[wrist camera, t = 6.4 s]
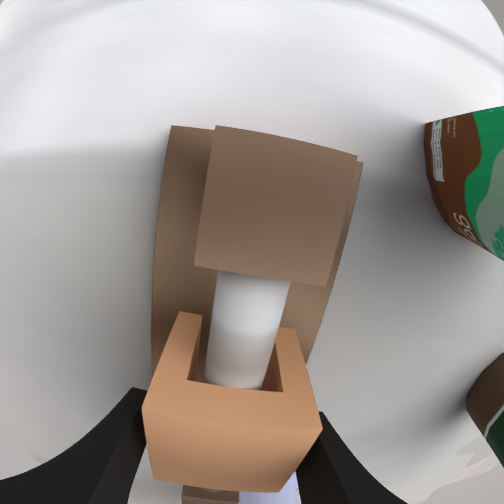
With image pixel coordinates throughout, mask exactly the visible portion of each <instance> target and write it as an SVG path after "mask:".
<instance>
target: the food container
mask: <svg viewBox="0 0 504 504" xmlns="http://www.w3.org/2000/svg"><path fill="white" fill-rule="evenodd" d="M424 152H425V163H426V175H427V178H428V181H429V185H430V189H431V192H432V196H433V200H434V202H435V204H436V206H437V208H438V210H439V211H440V213H441V215H442V217H443V219H444V221H445V222H446V223H447V224H448V225H449V226H450V227H451V228H452V229H453V230H454V231H455V232H456V233H458V234H460V235H461V236H463V237H465V238H467V239H468V240H470V241H472V242H474V243H475V244H477V245H479V246H480V247H482V248H484V249H485V250H487V251H489V252H490V253H492V254H494V255H495V256H497V257H498V258H500V259H501V260H503V261H504V106H501V107H495V108H490V109H485V110H480V111H475V112H471V113H466V114H462V115H457V116H453V117H449V118H445V119H441V120H437V121H433V122H429V123H426V124H425V136H424Z"/></svg>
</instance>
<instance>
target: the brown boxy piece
mask: <svg viewBox="0 0 504 504" xmlns="http://www.w3.org/2000/svg"><path fill="white" fill-rule="evenodd" d="M362 167H363V163H362V162H358V161H357V156H355V155H352V154H349V153H345V152H342V151H338V150H334V149H331V148H327V147H323V146H319V145H315V144H311V143H307V142H303V141H299V140H294V139H290V138H285V137H280V136H276V135H271V134H265V133H260V132H255V131H249V130H243V129H237V128H231V127H224V126H217V125H216V127H215V130H208V129H200V128H192V127H182V126H172V125H171V130H170V135H169V141H168V146H167V152H166V158H165V165H164V171H163V178H162V186H161V193H160V201H159V210H158V219H157V229H156V240H155V253H154V267H153V286H152V323H151V345H152V378H153V376H154V373H155V371H156V368H157V365H158V363H159V360H160V358H161V355H162V353H163V350H164V348H165V345H166V343H167V340H168V338H169V335H170V333H171V330H172V328H173V325H174V323H175V320H176V318H177V316H178V313H179V311H182V312H187V313H192V314H198V315H203V316H202V324H201V333H200V341H199V351H198V360H197V370H196V380H195V382H201V383H206V384H213V385H219V386H226V387H233V388H242V389H250V390H261V387H262V384H263V380H264V377H265V374H266V370H267V367H268V363H269V360H270V357H271V353H272V350H273V346H274V342H275V339H276V335H277V332H278V328H279V327H285V328H293V329H295V330H296V333H297V337H298V340H299V344H300V347H301V351H302V354H303V358H304V361H305V365H306V363H307V360H308V358H309V355H310V352H311V350H312V347H313V344H314V341H315V338H316V336H317V333H318V330H319V327H320V324H321V321H322V318H323V315H324V312H325V309H326V306H327V303H328V299H329V296H330V293H331V290H332V287H333V283H334V280H335V277H336V273H337V270H338V266H339V263H340V259H341V255H342V252H343V248H344V244H345V241H346V237H347V233H348V229H349V225H350V221H351V217H352V213H353V208H354V204H355V200H356V195H357V191H358V186H359V181H360V176H361V172H362ZM238 503H239V491H226V490H216V489H208V488H201V487H194V486H188V485H183V490H182V504H238Z"/></svg>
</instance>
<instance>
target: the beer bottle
mask: <svg viewBox="0 0 504 504" xmlns="http://www.w3.org/2000/svg"><path fill="white" fill-rule="evenodd" d="M466 407H467V411H468V413H469V415H470V416H471V418H472V420H473V421H474V423H475V424H476V426H477V427H478V429H479V430H480V432H481V433H482V435H483V436H484V438H485V439H486V441H487V442H488V444H489V445H490V447H491V448H492V450H493V451H494V453H495V455H496V456H497V458H498V459H499V461H500V463H501V464H502V466H503V467H504V353H502V354H501V355H500V356H499V357H498V358H497V359H496V360H495V361H494V362H493V363H492V364H491V365H489V366H488V367H487V368H486V369H485V370H484V371H483V372H482V374H481V375H480V377H479V378H478V380H477V381H476V383H475V384H474V385H473V387H472V388H471V390H470V391H469V392H468V395H467V406H466Z"/></svg>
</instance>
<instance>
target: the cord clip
mask: <svg viewBox="0 0 504 504" xmlns="http://www.w3.org/2000/svg"><path fill="white" fill-rule="evenodd" d="M202 316H203V315H198V314H192V313H187V312H182V311H179V313H178V316H177V318H176V320H175V323H174V325H173V328H172V330H171V333H170V335H169V338H168V340H167V343H166V345H165V348H164V350H163V353H162V355H161V358H160V360H159V363H158V365H157V368H156V371H155V373H154V376H153V378H152V381H151V384H150V386H149V389H148V392H147V394H146V397H145V400H144V403H143V405H142V415H143V422H144V429H145V436H146V442H147V448H148V453H149V459H150V464H151V469H152V473H153V478H154V479H158V480H162V481H167V482H172V483H177V484H182V485H188V486H194V487H201V488H208V489H216V490H226V491H239V492H262V493H279V492H280V491H281V489H282V488H283V487H284V485H285V484H286V483H287V481H288V480H289V479H290V477H291V476H292V475H293V473H294V472H295V470H296V469H297V467H298V466H299V465H300V463H301V462H302V460H303V459H304V457H305V456H306V454H307V453H308V451H309V450H310V448H311V447H312V445H313V444H314V442H315V441H316V439H317V437H318V436H319V434H320V433H321V431H322V429H323V427H322V424H321V420H320V416H319V412H318V409H317V405H316V401H315V398H314V394H313V390H312V387H311V383H310V379H309V376H308V372H307V369H306V365H305V361H304V358H303V354H302V351H301V347H300V344H299V340H298V337H297V333H296V330H295V329H293V328H285V327H279V328H278V332H277V335H276V339H275V342H274V346H273V350H272V353H271V357H270V360H269V363H268V367H267V370H266V374H265V377H264V380H263V384H262V387H261V390H250V389H242V388H233V387H226V386H219V385H213V384H206V383H201V382H195V380H196V370H197V360H198V351H199V341H200V333H201V324H202Z"/></svg>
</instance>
